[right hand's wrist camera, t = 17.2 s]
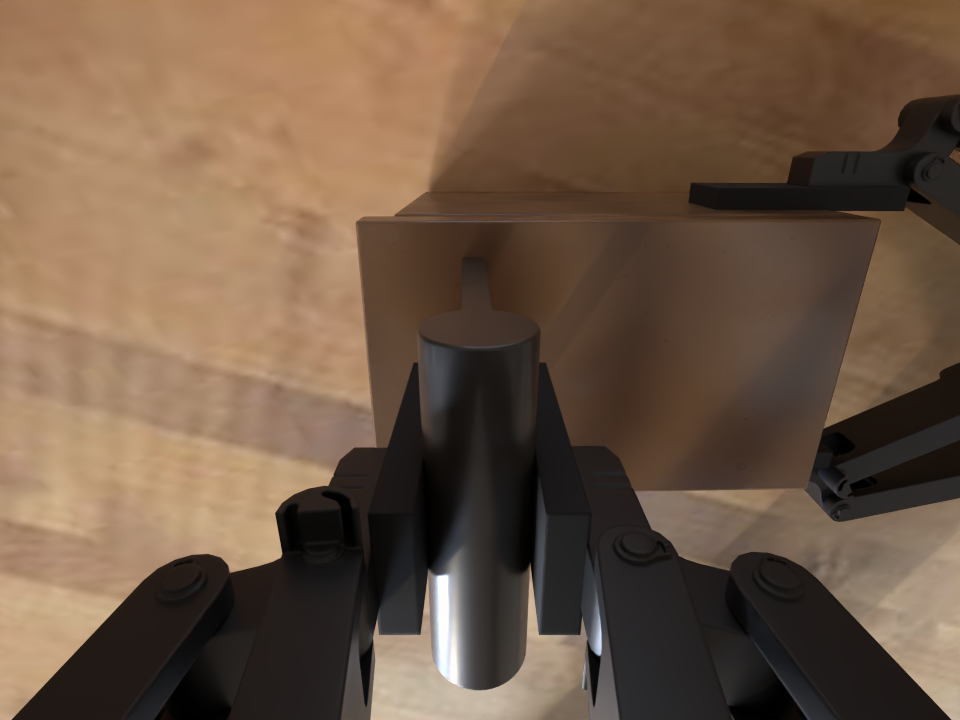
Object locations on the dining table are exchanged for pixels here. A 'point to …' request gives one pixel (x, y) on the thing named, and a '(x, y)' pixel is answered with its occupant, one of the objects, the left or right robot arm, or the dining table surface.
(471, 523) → the lid
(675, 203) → the chest
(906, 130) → the left robot arm
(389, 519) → the right robot arm
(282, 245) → the dining table surface
